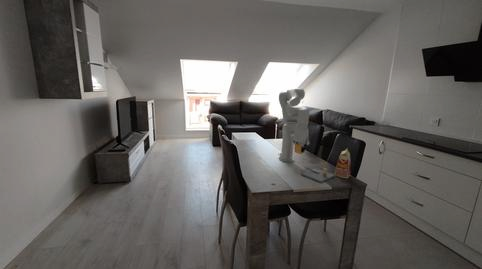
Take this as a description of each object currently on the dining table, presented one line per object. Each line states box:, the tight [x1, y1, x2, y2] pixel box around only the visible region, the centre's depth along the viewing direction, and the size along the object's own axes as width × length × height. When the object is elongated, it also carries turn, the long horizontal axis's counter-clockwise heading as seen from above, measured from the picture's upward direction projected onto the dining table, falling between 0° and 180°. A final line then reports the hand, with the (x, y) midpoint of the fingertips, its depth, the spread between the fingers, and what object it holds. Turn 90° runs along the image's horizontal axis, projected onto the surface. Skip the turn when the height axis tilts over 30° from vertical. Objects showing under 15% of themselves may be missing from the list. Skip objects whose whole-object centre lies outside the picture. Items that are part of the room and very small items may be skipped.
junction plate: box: [300, 167, 336, 184], centre depth 162 cm, size 16×18×6 cm
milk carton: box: [333, 148, 351, 179], centre depth 164 cm, size 9×9×20 cm
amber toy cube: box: [294, 142, 305, 155], centre depth 163 cm, size 5×5×6 cm
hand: (299, 150), depth 163 cm, fingers closed on amber toy cube, 5 cm apart
